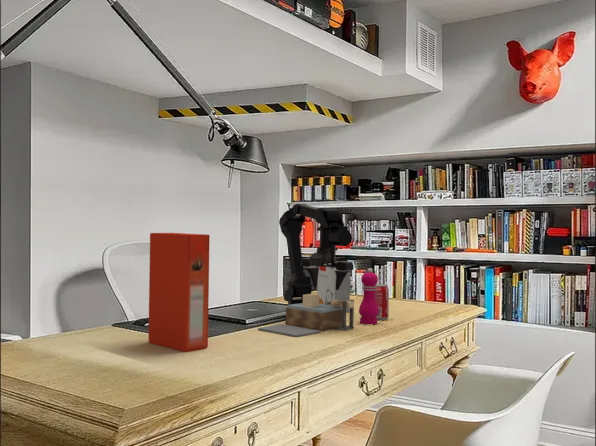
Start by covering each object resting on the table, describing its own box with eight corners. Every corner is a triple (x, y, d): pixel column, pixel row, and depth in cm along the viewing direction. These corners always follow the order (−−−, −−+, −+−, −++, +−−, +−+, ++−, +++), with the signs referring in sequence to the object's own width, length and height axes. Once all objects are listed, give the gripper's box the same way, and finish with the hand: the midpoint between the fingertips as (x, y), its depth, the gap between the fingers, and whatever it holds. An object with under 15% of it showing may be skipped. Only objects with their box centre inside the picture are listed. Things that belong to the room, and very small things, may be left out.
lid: (287, 310, 216) (287, 293, 216) (308, 307, 224) (308, 291, 224) (321, 315, 206) (321, 298, 206) (341, 312, 214) (342, 295, 214)
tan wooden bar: (330, 305, 214) (331, 299, 214) (335, 305, 216) (335, 299, 216) (349, 308, 209) (349, 302, 209) (353, 307, 210) (353, 301, 210)
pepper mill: (372, 325, 219) (373, 269, 219) (354, 323, 223) (356, 267, 223) (382, 323, 225) (383, 268, 225) (365, 320, 229) (366, 266, 229)
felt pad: (257, 329, 205) (257, 328, 205) (282, 325, 214) (282, 324, 214) (296, 337, 194) (296, 335, 194) (320, 332, 203) (320, 330, 203)
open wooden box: (285, 325, 216) (286, 296, 216) (309, 321, 226) (310, 294, 226) (330, 333, 203) (331, 303, 203) (354, 328, 212) (354, 299, 212)
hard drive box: (316, 307, 261) (317, 260, 261) (332, 307, 264) (333, 260, 264) (333, 313, 247) (334, 263, 247) (350, 312, 250) (351, 263, 250)
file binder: (184, 352, 168) (187, 234, 168) (147, 342, 180) (150, 232, 180) (207, 348, 174) (210, 234, 174) (170, 339, 186) (172, 232, 186)
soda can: (389, 320, 231) (390, 286, 231) (370, 320, 231) (371, 285, 231) (387, 317, 238) (388, 284, 238) (368, 317, 238) (369, 283, 238)
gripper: (292, 243, 216) (291, 287, 217) (338, 246, 206) (336, 293, 206) (310, 242, 225) (309, 285, 226) (355, 245, 215) (353, 290, 215)
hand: (326, 288), depth 218 cm, fingers open, 9 cm apart
